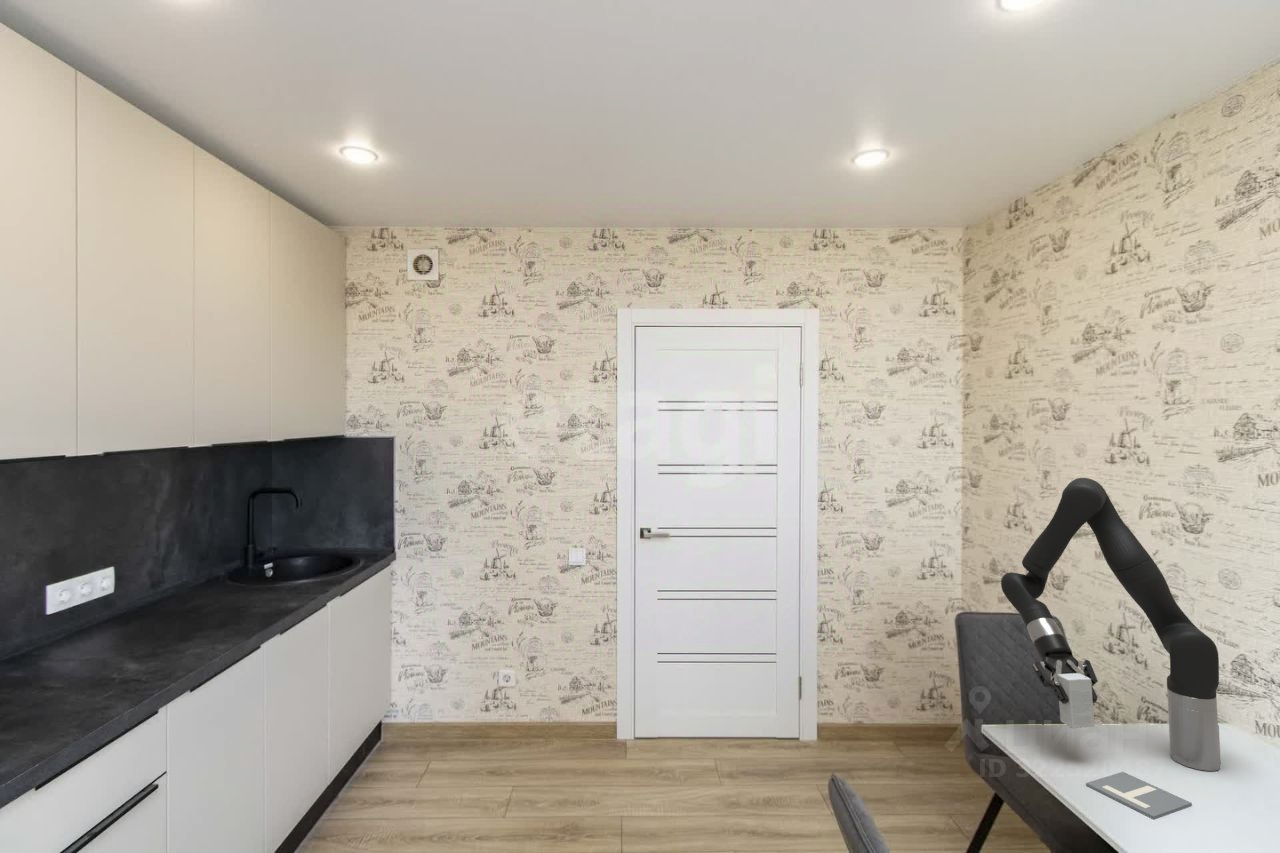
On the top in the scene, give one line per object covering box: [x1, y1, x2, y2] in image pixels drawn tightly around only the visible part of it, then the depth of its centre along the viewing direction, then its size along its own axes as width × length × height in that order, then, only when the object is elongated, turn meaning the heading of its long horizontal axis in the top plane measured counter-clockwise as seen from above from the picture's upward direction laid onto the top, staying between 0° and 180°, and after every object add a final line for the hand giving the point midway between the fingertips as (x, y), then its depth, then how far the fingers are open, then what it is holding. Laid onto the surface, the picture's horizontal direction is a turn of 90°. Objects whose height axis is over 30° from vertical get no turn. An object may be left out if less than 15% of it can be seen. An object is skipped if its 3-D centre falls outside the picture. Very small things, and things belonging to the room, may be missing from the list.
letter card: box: [1085, 771, 1193, 820], centre depth 139 cm, size 13×14×1 cm
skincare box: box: [1057, 673, 1095, 729], centre depth 155 cm, size 6×4×12 cm
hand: (1079, 702), depth 153 cm, fingers closed on skincare box, 6 cm apart
